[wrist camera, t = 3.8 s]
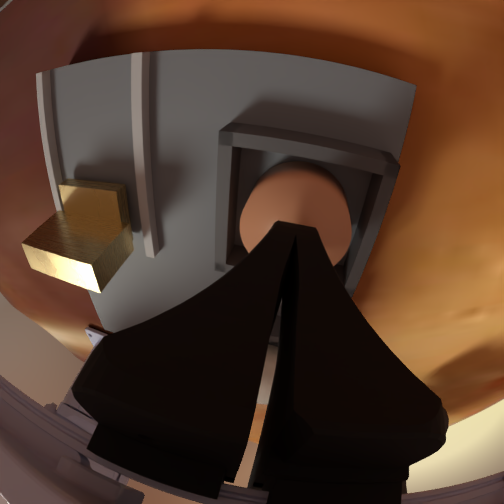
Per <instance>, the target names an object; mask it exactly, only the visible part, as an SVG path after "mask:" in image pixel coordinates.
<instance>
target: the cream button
mask: <svg viewBox="0 0 504 504" xmlns="http://www.w3.org/2000/svg"><path fill="white" fill-rule="evenodd" d="M277 352H278V347H277V346H273V345H269V344H268V349H267V354H266V359H265V364H264V369H263V374H262V379H261V384H260V389H259V394H258V399H257V403H259V404H268V401H269V397H270V392H271V387H272V382H273V377H274V372H275V367H276V361H277Z"/></svg>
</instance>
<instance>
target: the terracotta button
mask: <svg viewBox="0 0 504 504" xmlns="http://www.w3.org/2000/svg"><path fill="white" fill-rule="evenodd" d="M278 220H279V221H285V222H290V223H295V224H300V225H305V226H311V227H316V229H317V230H318V232H319V235H320V238H321V240H322V243H323V245H324V247H325V250H326V252H327V254H328V256H329V258H330V260H331V262H332V264H333V266H334V265H336V264H337V263H338V262H339V261H340V260H341V259H342V257H343V256H344V255H345V253H346V252H347V250H348V247H349V245H350V241H351V235H352V228H351V220H350V214H349V208H348V203H347V198H346V194H345V191H344V189H343V187H342V185H341V184H340V182H339V181H338V180H337V178H336V177H335V176H334V175H333V174H331V173H330V172H329V171H327V170H326V169H324V168H322V167H321V166H318V165H316V164H313V163H309V162H303V161H291V162H285V163H281V164H279V165H276V166H274V167H272V168H271V169H269V170H268V171H266V172H265V173H264V174H263V175H262V176H261V177H260V178H259V180H258V181H257V182H256V184H255V186H254V188H253V190H252V192H251V194H250V197H249V199H248V201H247V203H246V205H245V207H244V209H243V211H242V214H241V218H240V235H241V239H242V242H243V244H244V246H245V248H246V250H247V251H248V253H250V252H251V250H252V249H253V248H254V247H255V246H256V245H257V244H258V243H259V242H260V241H261V240H262V239H263V237H264V236H265V235H266V234H267V233H268V231H269V230H270V229H271V227H272V226H273V224H274V223H275V222H276V221H278Z"/></svg>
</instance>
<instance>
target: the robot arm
mask: <svg viewBox="0 0 504 504" xmlns="http://www.w3.org/2000/svg"><path fill="white" fill-rule="evenodd" d="M281 300H282V304H281V317H280V329H279V341H278V352H277V361H276V367H275V372H274V377H273V382H272V387H271V392H270V397H269V401H268V406H267V410H266V415H265V419H264V423H263V428H262V432H261V436H260V440H259V444H258V448H257V452H256V456H255V460H254V464H253V468H252V471H251V475H250V479H249V483H248V487H247V488H244V487H239V486H234V485H229V484H224V481H226V482H231V483H234V480H235V477H236V474H237V471H238V469H239V466H240V464H241V461H242V458H243V455H244V452H245V449H246V446H247V442H248V438H249V434H250V430H251V426H252V421H253V417H254V413H255V408H256V403H257V399H258V394H259V389H260V384H261V379H262V374H263V369H264V364H265V359H266V354H267V349H268V344H269V339H270V335H271V332H272V329H273V326H274V323H275V319H276V316H277V313H278V310H279V306H280V303H281ZM85 331H86V333H87V335H88V337H89V339H90V341H91V342H92V344H93V346H94V347H93V349H92V351H91V352H90V354H89V356H88V357H87V359H86V361H85V362H84V364H83V366H82V367H81V369H80V371H79V373H78V374H77V376H76V378H75V380H74V381H73V383H72V385H71V387H70V389H69V390H68V392H67V394H66V396H65V398H64V400H63V401H62V402H61V403H60V405H59V407H58V409H57V410H56V407H57V405H56V404H54V403H51V404H46V405H45V407H43V406H41V405H40V404H39V403H37V402H36V401H34V400H33V399H31V398H30V397H28V396H27V395H25V394H24V393H23V392H21V391H20V390H19V389H17V388H16V387H15V386H13V385H12V384H11V383H10V382H8V381H7V380H6V379H5V378H3V377H2V376H1V375H0V494H1V496H2V497H3V498H4V499H5V500H6V502H8V504H142V501H143V499H144V496H145V495H144V493H143V492H140V491H138V490H136V489H133V488H131V487H129V486H127V483H128V481H129V478H130V479H133V480H135V481H137V482H140V483H143V484H145V485H148V486H150V487H153V488H155V489H158V490H161V491H164V492H167V493H170V494H173V495H176V496H179V497H182V498H185V499H189V500H192V501H196V502H199V503H203V504H504V471H503V472H500V473H497V474H494V475H491V476H487V477H484V478H481V479H477V480H474V481H470V482H466V483H462V484H458V485H454V486H449V487H444V488H440V489H435V490H428V491H423V492H415V493H409V494H402V481H406V480H407V479H408V477H409V466H410V465H412V464H414V463H416V462H418V461H420V460H422V459H424V458H426V457H428V456H430V455H432V454H434V453H435V452H437V451H438V450H439V449H440V448H441V447H442V446H443V445H444V444H445V442H446V432H445V420H444V412H443V406H442V402H441V399H440V398H439V397H438V396H437V395H436V394H435V393H434V392H433V391H432V390H430V389H429V388H428V387H427V386H426V385H425V384H424V383H423V382H422V381H421V380H420V379H418V378H417V377H416V376H415V375H414V374H413V373H412V372H411V371H410V370H409V369H408V368H407V367H406V366H405V365H404V364H403V363H402V362H401V361H400V360H399V358H398V357H397V356H396V355H395V354H394V353H393V352H392V351H391V350H390V349H389V348H388V346H387V345H386V344H385V343H384V342H383V341H382V339H381V338H380V337H379V336H378V334H377V333H376V332H375V331H374V329H373V328H372V327H371V326H370V324H369V323H368V322H367V321H366V319H365V318H364V317H363V315H362V314H361V312H360V311H359V309H358V308H357V306H356V305H355V303H354V302H353V300H352V299H351V297H350V295H349V294H348V292H347V290H346V289H345V287H344V285H343V283H342V282H341V280H340V278H339V276H338V274H337V272H336V270H335V268H334V266H333V264H332V262H331V260H330V258H329V256H328V254H327V252H326V250H325V247H324V245H323V243H322V240H321V238H320V235H319V232H318V230H317V229H316V227H311V226H305V225H300V224H295V223H290V222H285V221H279V220H278V221H276V222H275V223H274V224H273V226H272V227H271V229H270V230H269V231H268V233H267V234H266V235H265V236H264V237H263V239H262V240H261V241H260V242H259V243H258V244H257V245H256V246H255V247H254V248H253V249H252V250H251V252H250V253H249V254H247V255H246V256H245V257H244V258H243V259H242V260H241V261H240V262H239V263H238V264H236V265H235V266H234V267H233V268H232V269H231V270H230V271H228V272H227V273H226V274H225V275H223V276H222V277H221V278H219V279H218V280H217V281H215V282H214V283H212V284H211V285H210V286H208V287H207V288H205V289H204V290H202V291H200V292H199V293H197V294H196V295H194V296H193V297H191V298H189V299H188V300H186V301H184V302H183V303H181V304H179V305H177V306H175V307H173V308H171V309H169V310H167V311H165V312H163V313H161V314H159V315H157V316H155V317H153V318H151V319H149V320H147V321H144V322H142V323H139V324H137V325H134V326H131V327H129V328H126V329H123V330H121V331H118V332H115V333H113V334H110V335H108V334H105V333H103V332H100V331H98V330H95V329H93V328H90V327H86V329H85Z"/></svg>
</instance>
